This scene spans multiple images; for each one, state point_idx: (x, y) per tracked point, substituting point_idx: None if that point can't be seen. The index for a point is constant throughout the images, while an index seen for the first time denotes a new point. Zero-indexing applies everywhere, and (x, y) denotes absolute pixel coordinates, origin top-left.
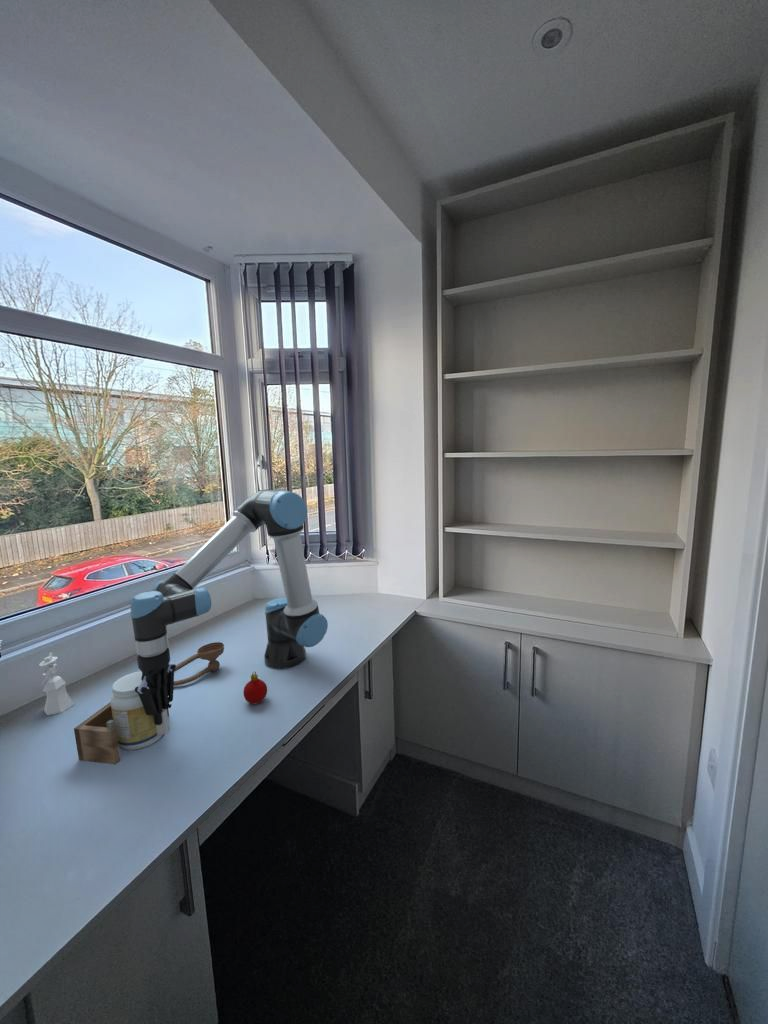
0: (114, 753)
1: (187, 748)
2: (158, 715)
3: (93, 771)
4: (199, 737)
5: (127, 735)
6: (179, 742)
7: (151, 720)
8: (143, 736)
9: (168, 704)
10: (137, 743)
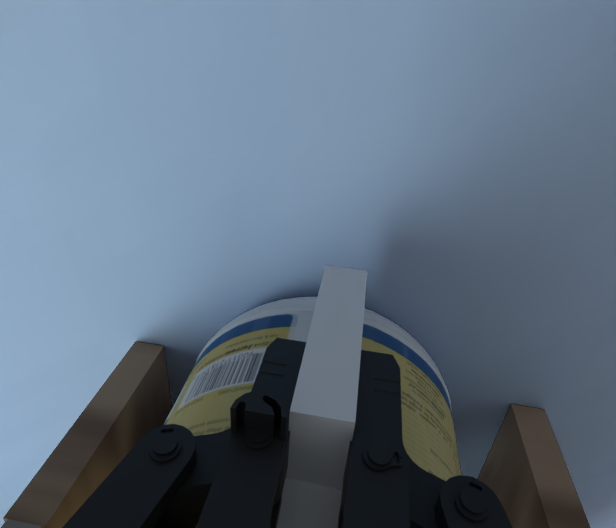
0: (566, 469)
1: (443, 42)
2: (399, 439)
3: (574, 470)
4: (304, 9)
5: None
6: (367, 153)
7: None
8: (432, 396)
9: (239, 434)
10: (444, 394)
